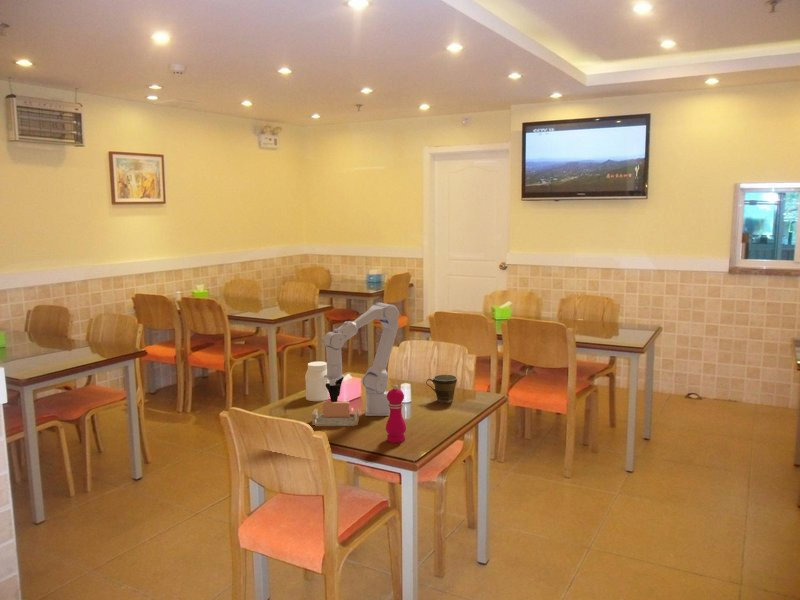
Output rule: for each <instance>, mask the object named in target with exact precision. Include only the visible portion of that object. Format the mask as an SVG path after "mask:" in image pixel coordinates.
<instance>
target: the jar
mask: <svg viewBox="0 0 800 600" xmlns="http://www.w3.org/2000/svg"><path fill="white" fill-rule="evenodd" d="M324 375H327V361H319V360H318V361H311V362H308V363H307V370H306V372H305V376H304V378H305V379H304V380H305V400H306V401H310V402H326V401H328V400H329V399H330V396H328V389H327V388H326V383H330V381H328V379H327V378H324Z"/></svg>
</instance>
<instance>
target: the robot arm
mask: <svg viewBox="0 0 800 600" xmlns="http://www.w3.org/2000/svg"><path fill="white" fill-rule="evenodd" d="M400 314H401V312H400V311H399V309H398V306H396V305H395V304H389V303H385V302H384V303H383V302H382V301H381V302H380V301H379V302H378V301H377V302H376V303H374V304H373V305H371V306H370V308H369V309H368V310H366V311H365V312H363V313H362V314H361V315H360V316H358V317H357V318H355V320H353V321H351V320H348V321H344V322H343V324H342V325H341V326H339V327H337V328H334V329H333V331H328V332H326V334H325V335H324V337H323V339H322V343H323V345H324V346H325V350H326V351H325V353H326V363H327V375H324V378H327V379H328V380H329V381H330V383H326V388H327V389H328V392H329V395H330V396H329V399H330V401H331V402H337V401H338V398H339V397H340V394H341V387H342V384H343V381H344V375H343V363H342V362H343V361H342V360H343V359H342V358H343V357H342V348H343V346H344V345H345V343H346V342H347V341H348V340H350V339H351V338H352V337H354V336H355V335H357V334H358V330H359V329H360V328H362V327H364V326H366V325H368V324H369V323H371V322H372V321H373V320H378V321H379V322H380V324H381V325H382V327H383V330H382V333H381V335H380V340H379V342H378V346H377V348H376V349H377V350H376V353H375V357H374V359H373V362H372V366H370V367H369V368H367V370H366V373H365V374H364V376H363V377H362V380H361V381H362V382H361V383H362V386H363V387H364V389H365V400H366V401H365V403H366V406H365V407H366V408H365V412H364V416H365V417H375V416H376V417H384V416H385V417H386V416H390V408H389V407H388V406H389V404H388V403H389V401H388V400H387V393H388V392H389V391H390V390H388V391H387V388H388V379H389V373H388V372H387V366H388V363H389V361H390V360H389V359H390V357H391V353H392V350H393V348H394V347H393V346H394V343H395V340H396V338H397V337H396V336H397V332H398V330H399V317H400Z"/></svg>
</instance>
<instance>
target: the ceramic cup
mask: <svg viewBox="0 0 800 600" xmlns="http://www.w3.org/2000/svg"><path fill="white" fill-rule="evenodd" d="M429 381H431V382H432V383H433V385H434V388H433V386H431V385H430V384H428V382H429ZM425 382H426V385H427V386H428V387H429V388H430V389H432V390H433V391H434V393H435V394H436V400H437V402H438V403H441V404H449V403H453V402H454V397H455V396H454V395H455V390H456V387H457V382H458V377H457V376H456V375H453V374H452V375H451V374H437V375H434V376H433V378H428V379H426V381H425Z"/></svg>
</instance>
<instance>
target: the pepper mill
mask: <svg viewBox="0 0 800 600" xmlns="http://www.w3.org/2000/svg"><path fill="white" fill-rule="evenodd" d="M388 391H389V392H388V393H387V400H388V401H389V403H388V404H389V406H388V407H389V408H390V411H389V417H388V419H387V422H386V424H385V431H386V433H387V435H386V440H387V442H389V443H392V444H401V443H403V442H404V441H405V440H406V435H405V433H406V431H407V424H406V421H405V419H404V418H403V414H402V408H403V407H404V406H403V404H404V402H403V401H404V399H405V394H404V392H403V391H402V390H401V389H399V387H398V385H397V384H393V385H392V389H390V390H388Z"/></svg>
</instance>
